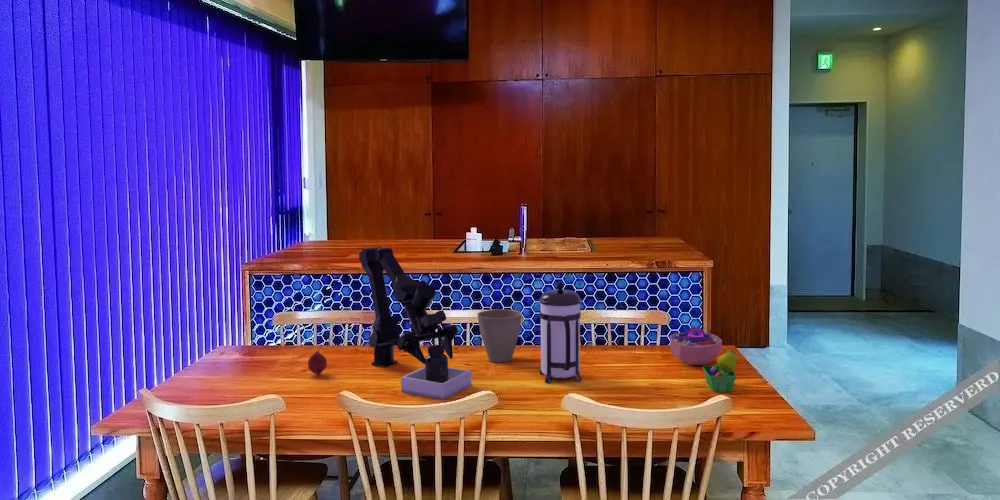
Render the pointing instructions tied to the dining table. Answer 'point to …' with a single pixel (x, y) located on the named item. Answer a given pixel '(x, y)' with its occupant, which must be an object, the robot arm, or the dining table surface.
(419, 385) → the purple bin
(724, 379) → the fruit basket
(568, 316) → the coffee press
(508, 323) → the plant pot
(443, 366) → the supplement bottle
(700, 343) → the cell model
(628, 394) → the dining table surface
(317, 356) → the onion
